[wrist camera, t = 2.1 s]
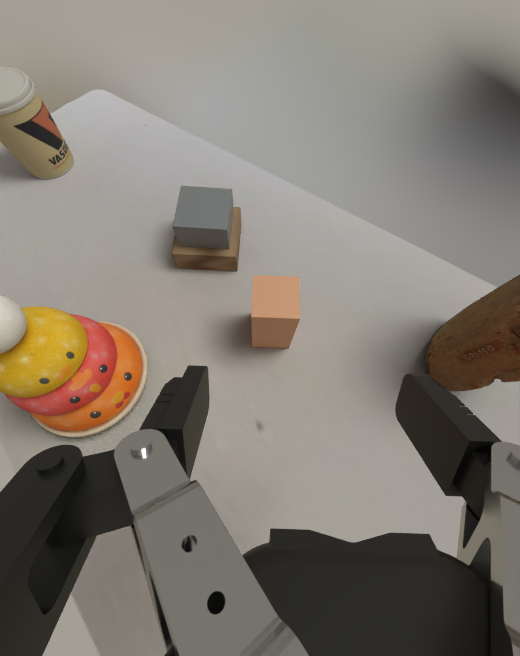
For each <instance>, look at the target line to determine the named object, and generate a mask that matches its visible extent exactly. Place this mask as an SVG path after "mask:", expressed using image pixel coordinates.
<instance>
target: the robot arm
mask: <svg viewBox="0 0 520 656" xmlns="http://www.w3.org/2000/svg"><path fill="white" fill-rule="evenodd" d="M208 409H209V380H208V367H207V366H190V365H189V366H188V367H187V369H186V371H185V373H184V375H183V377H182V378H180V377H174V378H173V379H171V380H170V381H169V382H168V383H166V384H165V385H164V387H163V389H162V390H161V392H160V395H159V396H158V398H157V399H156V402H155V403H154V405H153V406H152V408H151V410H150V412H149V414H148V415H147V417H146V419H145V421H144V422H143V424H142V426H141V428H140V430H139V431H136V432H134V433H131V434H129V435H128V436H126V437H125V438H123V439H122V440H121V441H120V442H119V444H118V445H117V446H116V448H115V449H114V450H111V451H107V452H103V453H98V454H93V455H89V456H84V457H83V456H82V453H81V450H80V449H79V448H78V447H76V446H73V445H60V446H55V447H52V448H49V449H46V450H44V451H42V452H40V453H39V454H37V455H35V456H34V457H32V458H31V459H30V460H29V461H27V462H26V463H25V464H24V465H23V467H22V468H21V469H20V470H19V471H18V472H17V474H16V475H15V476H14V477H13V478H12V479H11V480H10V482H9V483H8V484H7V485H6V486H5V488H4V489H3V490H2V491H1V492H0V656H42V655H43V653H44V651H45V648H46V646H47V644H48V642H49V640H50V637H51V635H52V633H53V631H54V628H55V626H56V624H57V622H58V620H59V617H60V615H61V613H62V611H63V608H64V606H65V604H66V602H67V600H68V598H69V595H70V593H71V591H72V589H73V587H74V584H75V582H76V580H77V578H78V576H79V573H80V571H81V569H82V567H83V565H84V562H85V560H86V558H87V556H88V554H89V551H90V549H91V547H92V545H93V543H94V540H95V538H96V536H97V535H100V534H103V533H106V532H110V531H113V530H116V529H120V528H123V527H127V526H130V527H131V530H132V533H133V537H134V540H135V543H136V547H137V550H138V553H139V557H140V560H141V564H142V567H143V570H144V574H145V577H146V580H147V584H148V587H149V591H150V595H151V599H152V602H153V606H154V610H155V613H156V617H157V620H158V624H159V627H160V631H161V634H162V637H163V641H164V644H165V647H166V651H167V653H166V654H165V655H164V656H520V446H519V445H516V444H512V443H508V442H502V441H501V440H500V439H499V438H498V437H497V436H496V435H495V434H494V433H493V432H492V431H491V430H490V429H489V428H488V427H487V426H486V425H485V424H484V423H482V422H481V421H480V420H479V419H478V418H477V417H476V416H475V415H473V413H472V412H471V411H470V410H469V409H468V408H467V407H465V405H464V404H463V403H462V402H461V401H460V400H459V399H458V398H457V397H456V396H454V395H453V394H451V393H450V392H448V391H446V390H445V389H443V388H441V387H440V386H439V385H438V384H437V383H436V382H435V381H434V380H433V379H432V378H431V377H430V376H428V375H420V374H407V375H405V376H404V378H403V381H402V385H401V389H400V392H399V396H398V399H397V403H396V409H395V410H396V417H397V419H398V421H399V423H400V425H401V426H402V428H403V429H404V431H405V432H406V434H407V436H408V437H409V439H410V440H411V442H412V443H413V445H414V447H415V448H416V450H417V451H418V453H419V454H420V456H421V458H422V459H423V461H424V462H425V464H426V465H427V467H428V469H429V470H430V472H431V473H432V475H433V476H434V478H435V480H436V481H437V483H438V484H439V486H440V487H441V489H442V491H443V492H444V494H445V495H446V496H462V497H463V498H464V499H465V503H464V505H463V507H462V513H461V522H460V532H459V541H458V551H457V558H455V557H453V556H451V555H449V554H446V553H444V552H441V551H439V550H437V548H436V546H435V544H434V543H433V541H432V539H431V537H430V535H429V534H412V533H388V534H384V535H381V536H377V537H374V538H370V539H367V540H363V541H360V542H355V543H351V542H347V541H344V540H341V539H337V538H334V537H331V536H328V535H324V534H321V533H318V532H315V531H311V530H297V529H270V541H269V543H266V544H262V545H260V546H258V547H255V548H253V549H251V550H250V551H248V552H246V553H245V554H243V555H242V554H241V553H240V551H239V549H238V548H237V546H236V544H235V543H234V541H233V539H232V537H231V536H230V534H229V532H228V531H227V529H226V527H225V526H224V524H223V522H222V520H221V519H220V517H219V515H218V514H217V512H216V510H215V509H214V507H213V505H212V503H211V502H210V500H209V498H208V497H207V495H206V493H205V492H204V490H203V488H202V487H201V485H200V484H199V482H198V481H196V480H194V481H192V482H191V481H190V476H191V473H192V469H193V465H194V462H195V458H196V454H197V451H198V447H199V444H200V440H201V436H202V433H203V429H204V425H205V422H206V418H207V414H208Z"/></svg>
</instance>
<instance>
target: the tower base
mask: <svg viewBox="0 0 520 656" xmlns="http://www.w3.org/2000/svg"><path fill="white" fill-rule="evenodd" d="M233 209H234V213H233V222H232V230H231V239H230V248H229V249H217V248H200V247H184V246H180V245H179V242H178V240H177V237H176V234H175V239H174V244H173V250H172V256H173V258H174V260H175V262H176V265H177V267H178V268H182V269H203V270H224V271H237V269H238V257H239V246H240V234H241V211H240V207H233Z"/></svg>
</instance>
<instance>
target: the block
mask: <svg viewBox="0 0 520 656" xmlns="http://www.w3.org/2000/svg"><path fill="white" fill-rule="evenodd" d="M425 360H426V365H427V367H428V370H427V372H428V374H429V376H430V377H431V378H432V379H433V380H435V381H436V382H437V383H438V384H440V385H442V386H444V387H445V388H447V389H450V390H453V391H468V390H473V389H478V388H482V387H484V386H488V385H490V384H491V383H493V382H494V379H500V380H502V382H512V381H520V275H518V276H517V277H515V278H513V279H512V280H510V281H508V282H507V283H505V284H503V285H502V286H500V287H498V288H497V289H495V290H493V291H492V292H490V293H489V294H487V295H485V296H484V297H482V298H481V299H479V300H477V301H476V302H474V303H472V304H471V305H469V306H468V307H466V308H465V309H463V310H462V311H461V312H459V313H458V314H457V315H455V316H454V317H453V318H451V319H450V320H448V321H447V322H446V323H445V324H444V325H443V326H442V327H441V328H440V329H439V330H438V331H437V333H436V334H435V335H434V336H433V338H432V340H431V342H430V346H429V347H428V350H427V355H426V358H425Z"/></svg>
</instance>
